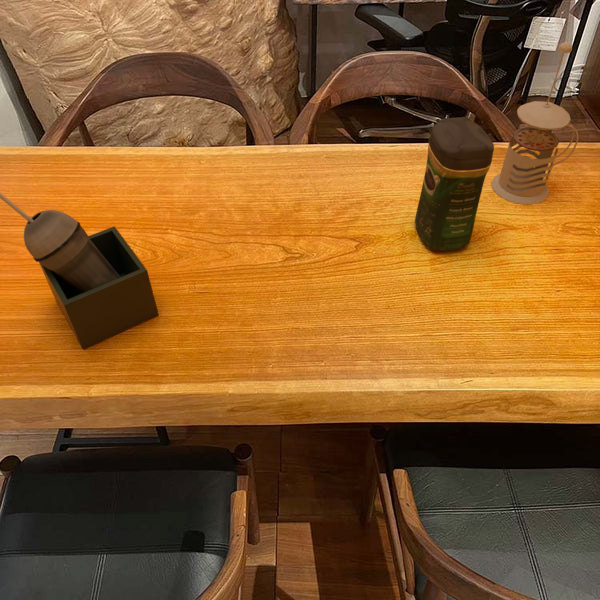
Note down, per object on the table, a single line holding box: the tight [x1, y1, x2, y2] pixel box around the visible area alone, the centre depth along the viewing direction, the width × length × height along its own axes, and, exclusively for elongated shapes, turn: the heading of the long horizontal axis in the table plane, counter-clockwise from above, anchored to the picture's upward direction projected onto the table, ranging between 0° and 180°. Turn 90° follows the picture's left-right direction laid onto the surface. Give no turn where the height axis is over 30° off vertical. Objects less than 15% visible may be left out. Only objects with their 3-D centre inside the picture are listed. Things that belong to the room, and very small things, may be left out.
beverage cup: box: [0, 192, 120, 294], centre depth 75 cm, size 7×7×20 cm
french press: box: [491, 41, 579, 205], centre depth 93 cm, size 10×12×25 cm
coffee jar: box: [414, 116, 495, 253], centre depth 87 cm, size 10×8×19 cm
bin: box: [38, 226, 160, 350], centre depth 79 cm, size 11×11×9 cm
